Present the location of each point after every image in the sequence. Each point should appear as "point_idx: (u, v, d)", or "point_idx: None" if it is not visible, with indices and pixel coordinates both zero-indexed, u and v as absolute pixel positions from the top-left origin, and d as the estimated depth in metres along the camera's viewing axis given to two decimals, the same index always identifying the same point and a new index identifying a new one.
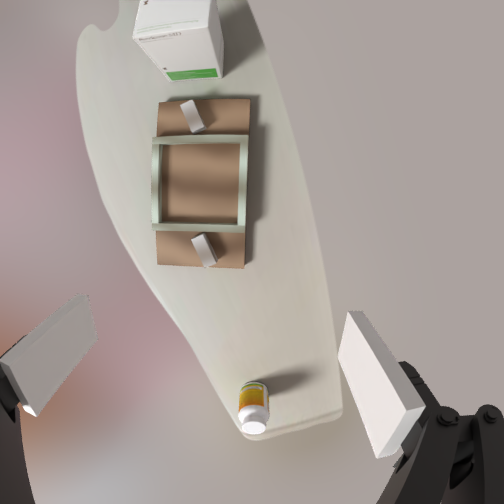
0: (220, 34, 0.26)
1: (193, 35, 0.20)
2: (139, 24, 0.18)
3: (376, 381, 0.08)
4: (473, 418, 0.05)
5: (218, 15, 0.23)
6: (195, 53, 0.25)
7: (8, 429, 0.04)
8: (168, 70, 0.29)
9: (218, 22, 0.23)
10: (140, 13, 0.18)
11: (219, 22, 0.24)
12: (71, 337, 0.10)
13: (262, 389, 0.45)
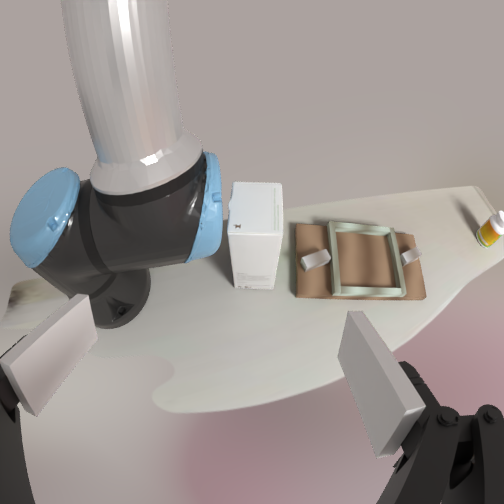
0: None
1: None
2: (267, 228, 0.30)
3: (376, 381, 0.08)
4: (473, 418, 0.05)
5: None
6: None
7: (8, 429, 0.04)
8: None
9: None
10: (252, 229, 0.30)
11: None
12: (71, 337, 0.10)
13: (479, 229, 0.48)
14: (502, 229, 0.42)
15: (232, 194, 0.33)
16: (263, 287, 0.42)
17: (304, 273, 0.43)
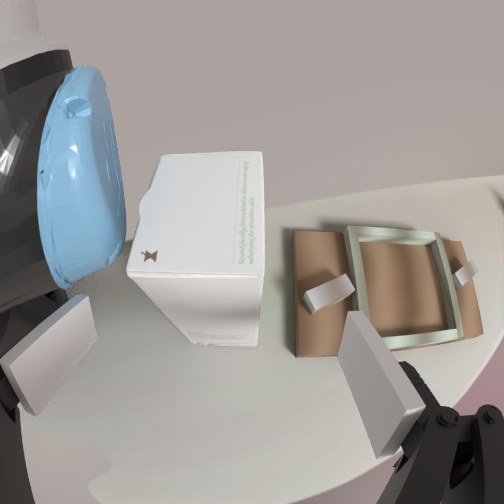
0: None
1: None
2: (223, 260, 0.11)
3: (376, 381, 0.08)
4: (473, 418, 0.05)
5: None
6: None
7: (8, 429, 0.04)
8: None
9: None
10: (183, 264, 0.11)
11: None
12: (71, 337, 0.10)
13: None
14: None
15: (153, 180, 0.14)
16: (239, 345, 0.23)
17: (310, 317, 0.24)
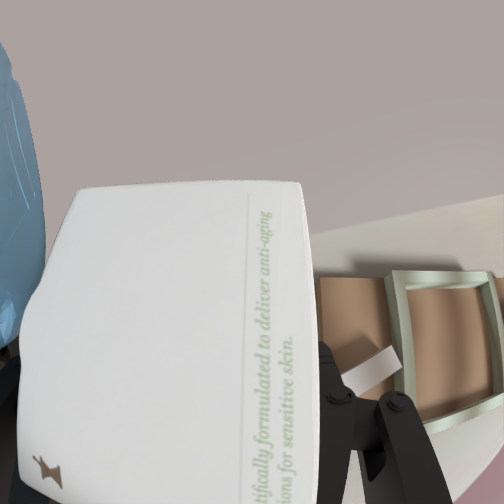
0: None
1: None
2: None
3: None
4: (376, 407, 0.07)
5: None
6: None
7: None
8: None
9: None
10: None
11: None
12: None
13: None
14: None
15: (49, 258, 0.05)
16: None
17: None
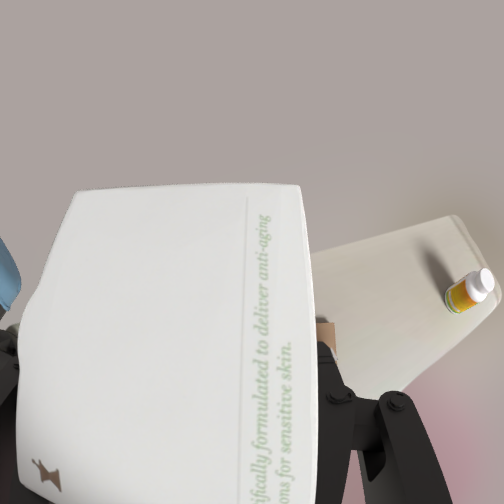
0: None
1: None
2: None
3: None
4: (376, 407, 0.07)
5: None
6: None
7: None
8: None
9: None
10: None
11: None
12: None
13: (450, 290, 0.38)
14: (482, 295, 0.31)
15: (47, 261, 0.05)
16: None
17: None
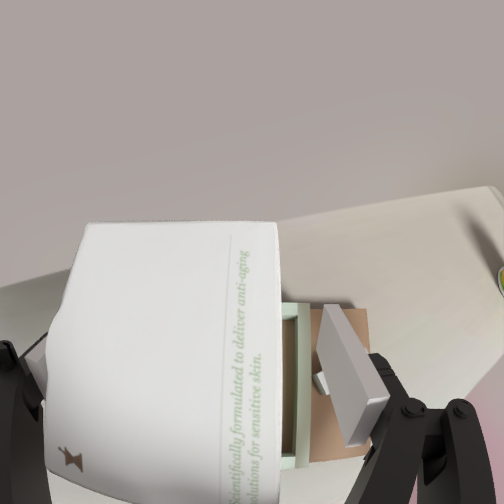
0: None
1: None
2: (200, 499, 0.04)
3: (345, 371, 0.09)
4: (443, 413, 0.06)
5: None
6: None
7: (30, 429, 0.05)
8: None
9: None
10: (128, 490, 0.04)
11: None
12: None
13: None
14: None
15: (68, 286, 0.07)
16: None
17: None
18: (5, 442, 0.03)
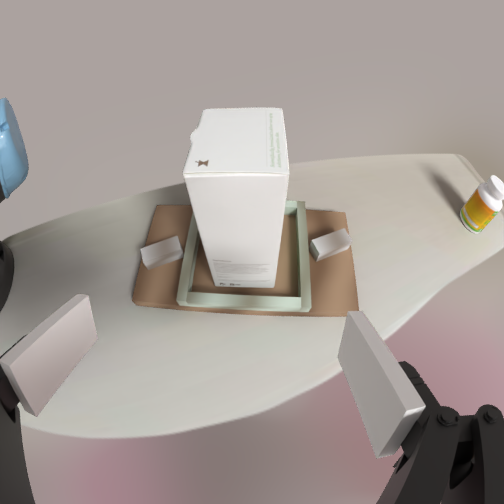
0: None
1: None
2: (259, 164, 0.15)
3: (376, 381, 0.08)
4: (473, 418, 0.05)
5: None
6: None
7: (8, 429, 0.04)
8: None
9: None
10: (229, 167, 0.15)
11: None
12: (71, 337, 0.10)
13: (464, 206, 0.34)
14: (498, 202, 0.28)
15: (199, 123, 0.18)
16: (259, 284, 0.27)
17: (147, 271, 0.29)
18: None
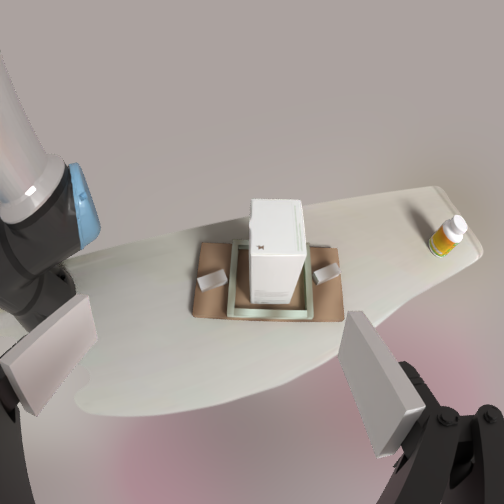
0: None
1: None
2: (291, 249, 0.29)
3: (376, 381, 0.08)
4: (473, 418, 0.05)
5: None
6: None
7: (8, 429, 0.04)
8: None
9: None
10: (275, 250, 0.29)
11: None
12: (71, 337, 0.10)
13: (432, 236, 0.49)
14: (458, 236, 0.43)
15: (252, 212, 0.32)
16: (280, 302, 0.41)
17: (201, 293, 0.43)
18: None
